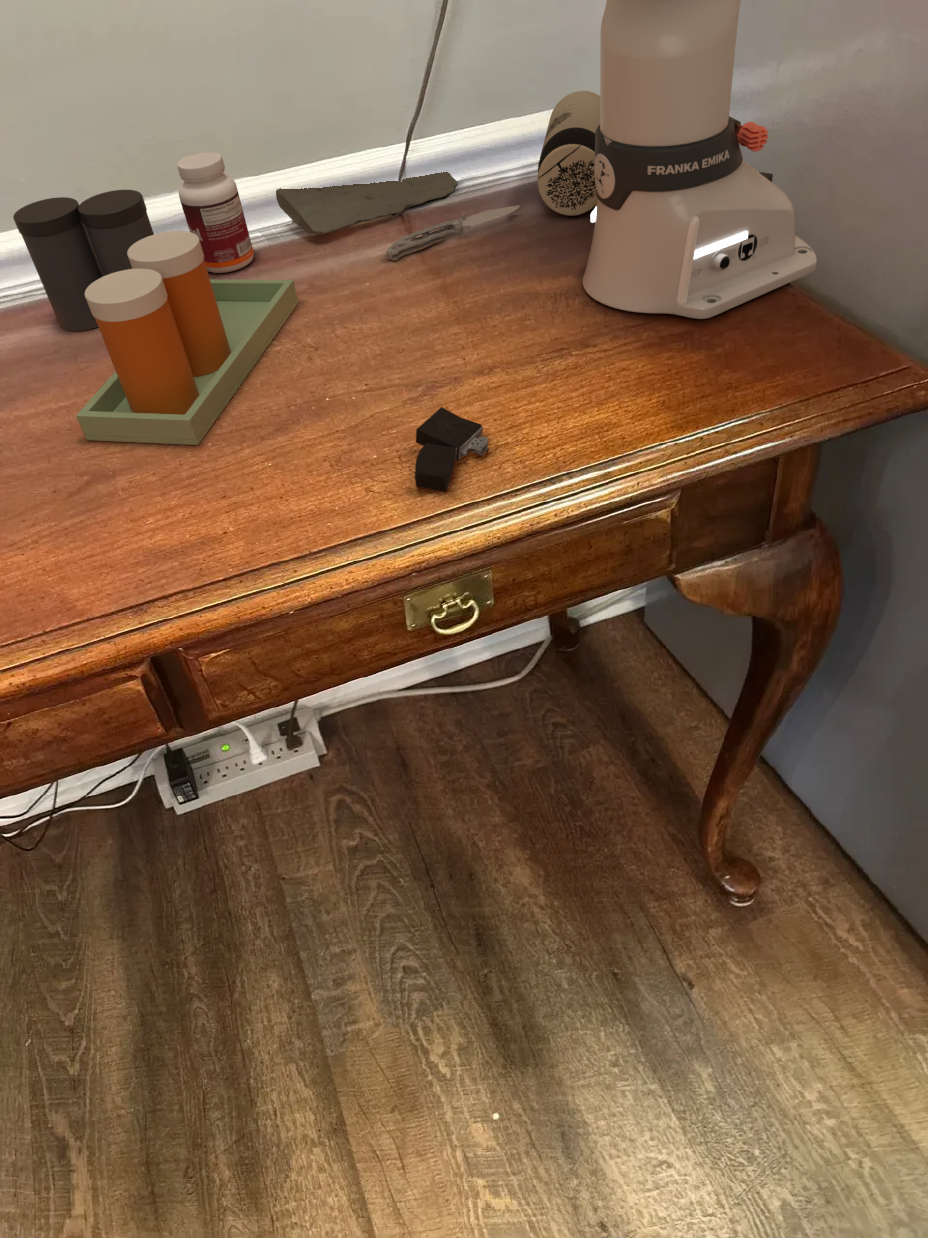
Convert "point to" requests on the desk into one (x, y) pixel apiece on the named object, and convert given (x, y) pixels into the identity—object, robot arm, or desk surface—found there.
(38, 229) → the grey canister
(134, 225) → the grey canister
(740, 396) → the desk surface
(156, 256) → the bottle
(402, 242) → the knife
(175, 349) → the bottle
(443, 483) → the lighter
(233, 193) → the pill bottle
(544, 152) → the travel mug
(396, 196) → the stone slab
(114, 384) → the tray
